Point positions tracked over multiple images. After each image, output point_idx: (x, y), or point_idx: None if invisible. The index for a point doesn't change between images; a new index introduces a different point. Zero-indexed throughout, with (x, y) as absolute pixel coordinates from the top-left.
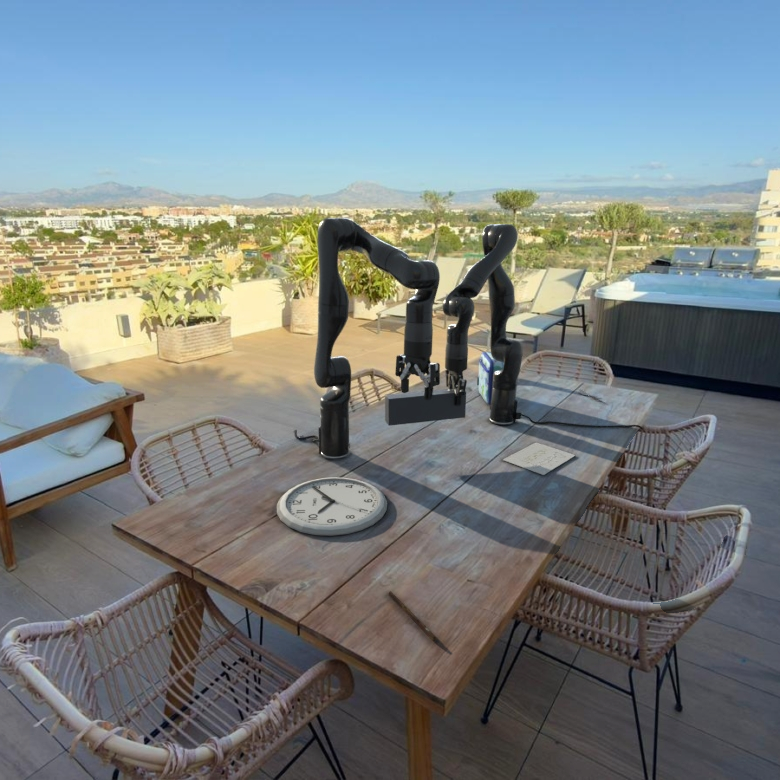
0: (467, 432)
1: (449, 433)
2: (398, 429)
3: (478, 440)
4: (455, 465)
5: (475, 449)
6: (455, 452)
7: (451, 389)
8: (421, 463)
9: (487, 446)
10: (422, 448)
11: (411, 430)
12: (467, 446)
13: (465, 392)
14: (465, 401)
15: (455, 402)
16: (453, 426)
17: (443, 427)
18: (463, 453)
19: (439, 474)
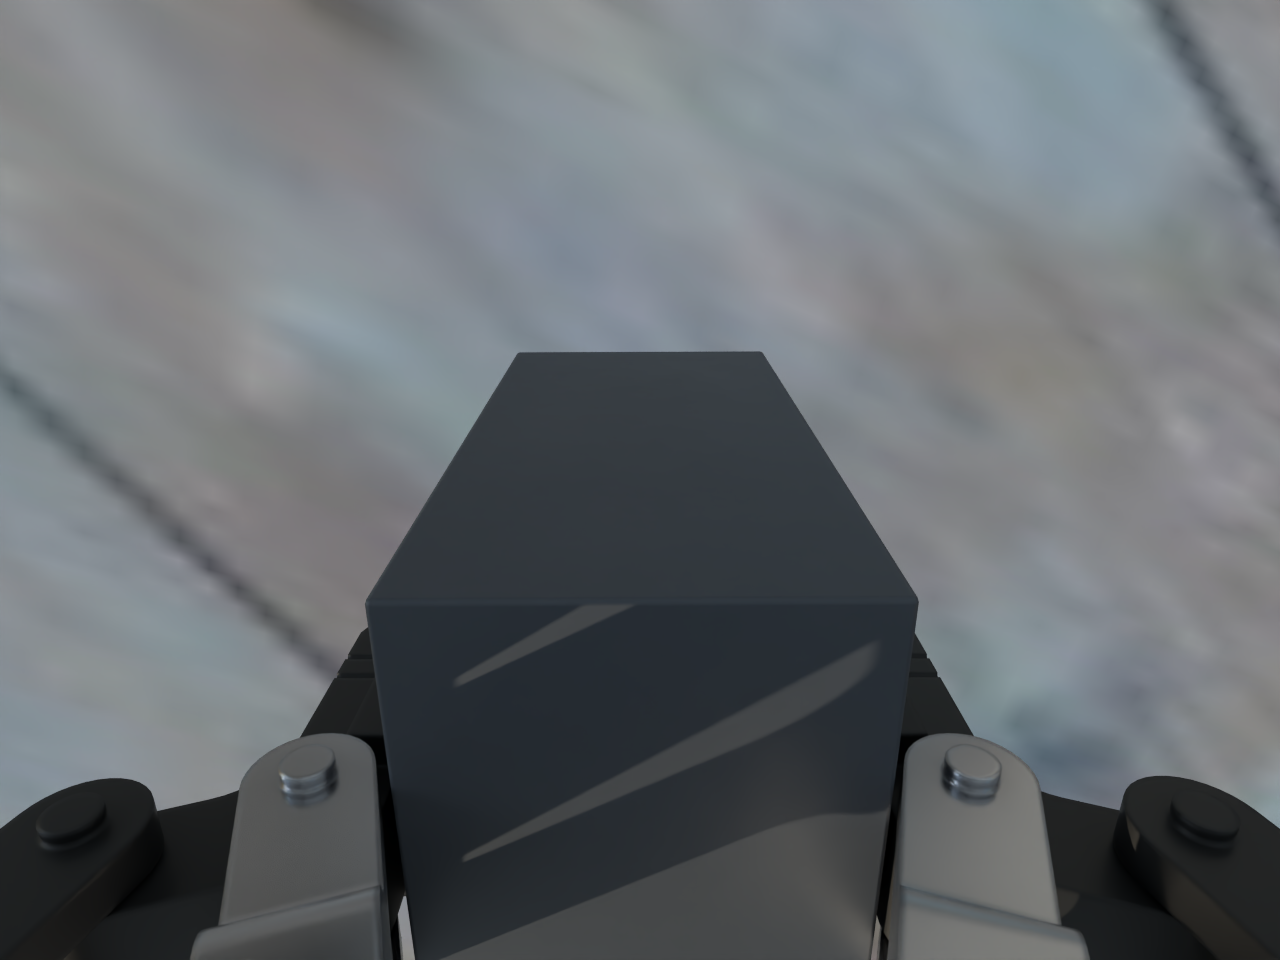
0: (384, 80)
1: (389, 330)
2: (226, 787)
3: (671, 47)
4: (1180, 571)
5: (914, 213)
6: (911, 463)
7: (506, 945)
8: None
9: (882, 12)
10: None
11: (261, 686)
12: (806, 272)
13: (907, 615)
14: (827, 466)
15: None
16: (158, 187)
17: (189, 330)
18: (964, 393)
19: (1269, 750)
